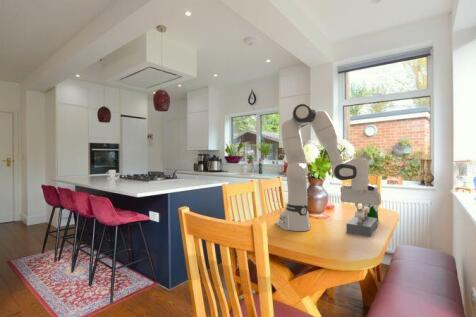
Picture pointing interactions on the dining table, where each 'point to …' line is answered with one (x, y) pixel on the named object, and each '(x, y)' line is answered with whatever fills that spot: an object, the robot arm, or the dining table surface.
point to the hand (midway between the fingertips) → (360, 211)
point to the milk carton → (372, 211)
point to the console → (362, 226)
